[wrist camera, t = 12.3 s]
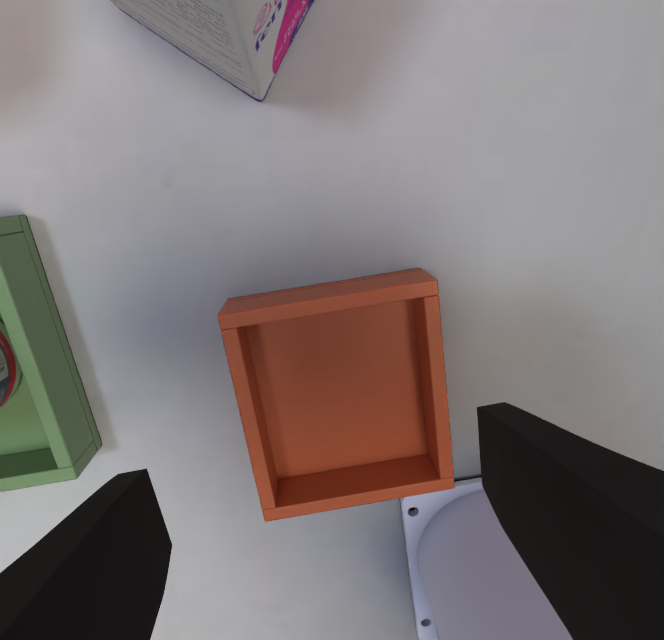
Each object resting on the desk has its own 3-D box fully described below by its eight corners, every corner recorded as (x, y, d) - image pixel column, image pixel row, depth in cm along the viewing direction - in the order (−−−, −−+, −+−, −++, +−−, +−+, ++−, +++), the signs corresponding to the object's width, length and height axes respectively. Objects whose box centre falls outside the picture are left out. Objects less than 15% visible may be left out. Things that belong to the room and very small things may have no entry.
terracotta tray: (438, 456, 22) (455, 489, 20) (268, 485, 22) (264, 522, 20) (420, 267, 19) (437, 279, 17) (226, 298, 19) (216, 315, 17)
